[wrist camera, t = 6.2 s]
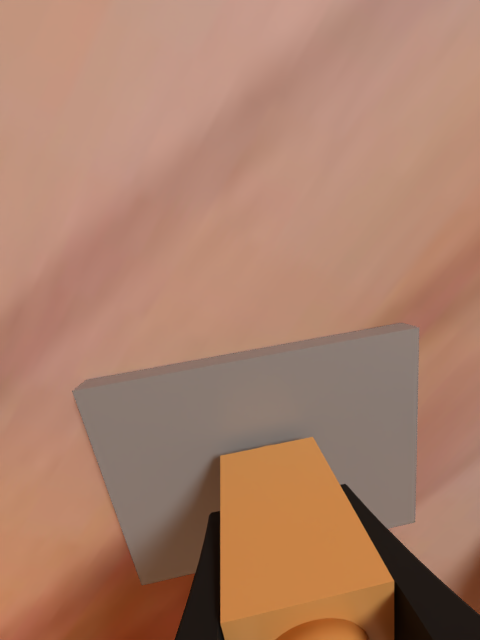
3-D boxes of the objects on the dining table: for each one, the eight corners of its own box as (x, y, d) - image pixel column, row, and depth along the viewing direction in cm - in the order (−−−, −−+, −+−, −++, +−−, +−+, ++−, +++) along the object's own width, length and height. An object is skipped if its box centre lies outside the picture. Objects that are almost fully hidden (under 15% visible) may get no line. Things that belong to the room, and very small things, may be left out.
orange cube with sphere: (313, 436, 10) (422, 630, 5) (320, 509, 11) (418, 742, 6) (220, 455, 10) (220, 683, 5) (235, 528, 11) (251, 789, 6)
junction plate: (402, 322, 11) (496, 348, 8) (401, 505, 14) (471, 593, 10) (85, 380, 11) (7, 442, 7) (147, 562, 13) (117, 683, 9)
